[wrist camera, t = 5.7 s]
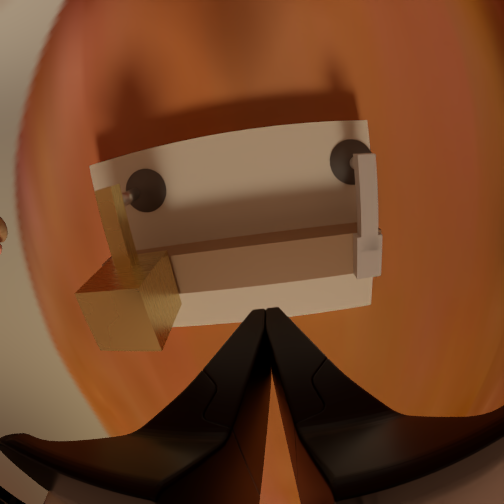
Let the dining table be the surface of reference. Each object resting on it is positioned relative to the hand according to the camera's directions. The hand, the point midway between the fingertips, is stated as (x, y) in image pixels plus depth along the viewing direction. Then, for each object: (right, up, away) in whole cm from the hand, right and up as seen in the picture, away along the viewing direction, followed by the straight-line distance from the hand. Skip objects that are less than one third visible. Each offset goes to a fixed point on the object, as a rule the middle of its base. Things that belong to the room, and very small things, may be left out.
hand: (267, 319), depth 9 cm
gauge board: (-1, +3, +6) cm, 7 cm away
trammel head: (-6, +3, +5) cm, 8 cm away
